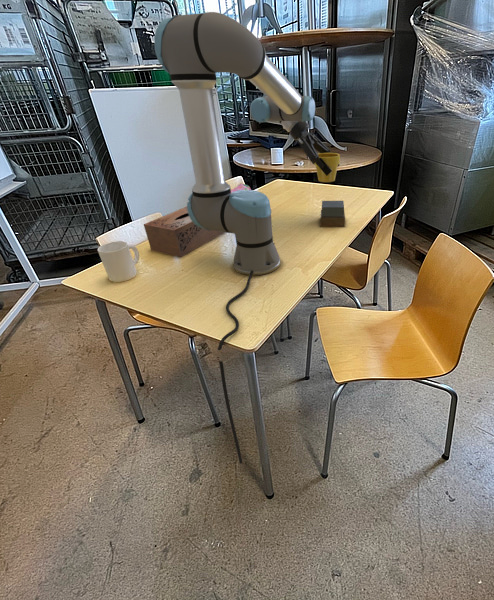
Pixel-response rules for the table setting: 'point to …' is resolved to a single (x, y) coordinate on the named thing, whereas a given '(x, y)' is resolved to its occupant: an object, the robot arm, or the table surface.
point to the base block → (332, 221)
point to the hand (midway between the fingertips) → (333, 170)
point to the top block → (332, 208)
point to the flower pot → (332, 162)
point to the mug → (119, 260)
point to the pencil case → (241, 187)
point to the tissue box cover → (177, 234)
